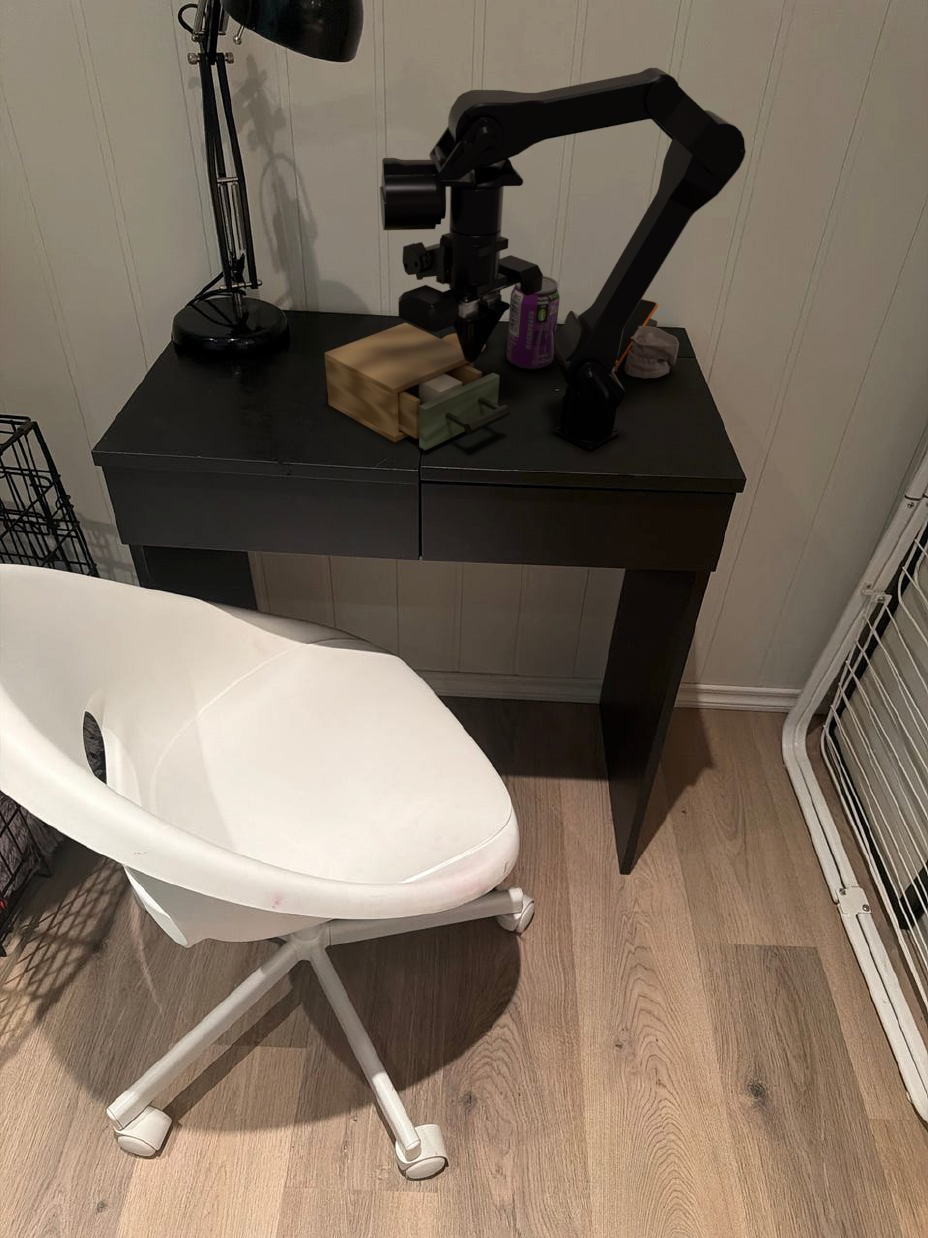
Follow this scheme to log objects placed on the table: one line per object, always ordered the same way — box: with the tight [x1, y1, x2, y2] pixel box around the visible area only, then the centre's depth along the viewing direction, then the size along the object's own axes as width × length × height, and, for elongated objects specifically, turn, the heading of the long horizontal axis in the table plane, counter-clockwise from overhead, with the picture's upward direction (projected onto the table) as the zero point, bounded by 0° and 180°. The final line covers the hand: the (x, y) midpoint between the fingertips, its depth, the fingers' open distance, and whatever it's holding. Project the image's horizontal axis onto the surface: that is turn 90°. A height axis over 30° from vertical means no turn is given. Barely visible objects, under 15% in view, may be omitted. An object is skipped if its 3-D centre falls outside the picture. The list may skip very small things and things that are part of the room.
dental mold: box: [623, 326, 680, 379], centre depth 126 cm, size 8×7×5 cm
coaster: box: [441, 332, 487, 353], centre depth 132 cm, size 7×7×1 cm
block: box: [419, 373, 462, 405], centre depth 110 cm, size 4×4×4 cm
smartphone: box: [613, 298, 659, 370], centre depth 129 cm, size 8×17×1 cm, turn 147°
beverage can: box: [505, 275, 560, 370], centre depth 124 cm, size 7×7×12 cm
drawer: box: [398, 364, 511, 451], centre depth 110 cm, size 17×13×6 cm
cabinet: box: [323, 322, 475, 443], centre depth 115 cm, size 14×15×8 cm
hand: (470, 361), depth 103 cm, fingers closed
